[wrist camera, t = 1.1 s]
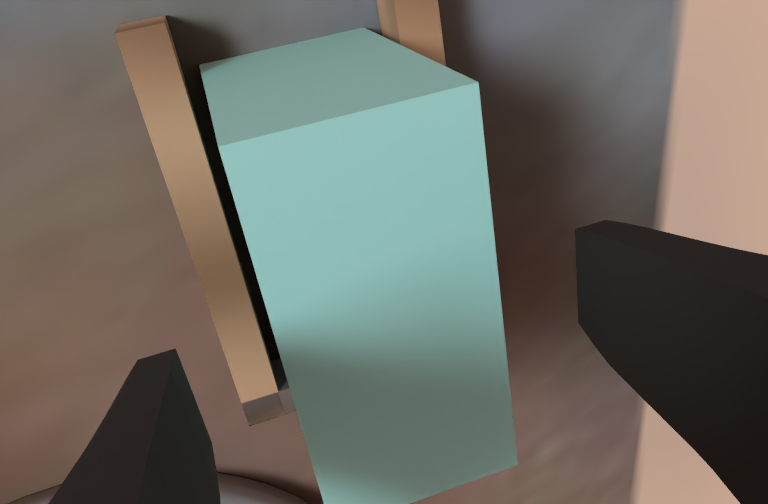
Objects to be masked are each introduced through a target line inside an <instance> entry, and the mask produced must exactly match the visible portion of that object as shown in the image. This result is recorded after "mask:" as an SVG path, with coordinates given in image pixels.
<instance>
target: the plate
mask: <svg viewBox="0 0 768 504" xmlns="http://www.w3.org/2000/svg"><path fill="white" fill-rule="evenodd" d="M217 478H218V485H219V491H220V503H221V504H309V503H307V502H305V501H304V500H302V499H301V498H299V497H297V496H295V495H293V494H290V493H288V492H286V491H283V490H281V489H279V488H276V487H274V486H272V485H268V484H265V483H261V482H258V481H254V480H251V479H247V478H244V477H239V476H233V475H227V474H221V473H217ZM60 486H61V485H59V486H56V487H53V488H50V489H47V490H44V491H41V492H38V493H35V494H32V495H29V496H26V497H23V498H21V499H18V500H16V501H14V502H12V503H9V504H48V503H49V502H50V500H51V499H52V498H53V496H54V495H55V493H56V492H57V491H58V489H59V488H60Z"/></svg>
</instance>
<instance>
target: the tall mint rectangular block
mask: <svg viewBox="0 0 768 504" xmlns="http://www.w3.org/2000/svg"><path fill="white" fill-rule="evenodd" d="M199 67H200V71H201V76H202V80H203V84H204V88H205V93H206V97H207V101H208V106H209V110H210V114H211V118H212V123H213V127H214V131H215V136H216V140H217V144H218V148H219V151H220V155H221V158H222V162H223V165H224V168H225V172H226V175H227V178H228V182H229V185H230V189H231V192H232V195H233V199H234V202H235V205H236V209H237V212H238V216H239V219H240V222H241V226H242V229H243V232H244V236H245V239H246V243H247V246H248V249H249V253H250V256H251V259H252V263H253V266H254V270H255V273H256V276H257V280H258V283H259V287H260V290H261V293H262V297H263V300H264V303H265V307H266V310H267V314H268V317H269V320H270V324H271V327H272V330H273V334H274V337H275V341H276V344H277V347H278V351H279V354H280V357H281V361H282V364H283V368H284V371H285V374H286V378H287V381H288V384H289V388H290V391H291V395H292V398H293V401H294V405H295V408H296V411H297V415H298V418H299V422H300V425H301V428H302V432H303V435H304V438H305V442H306V445H307V449H308V452H309V455H310V459H311V462H312V465H313V469H314V472H315V476H316V479H317V482H318V486H319V489H320V492H321V496H322V499H323V503H324V504H409V503H412V502H415V501H418V500H421V499H423V498H426V497H429V496H432V495H435V494H437V493H440V492H443V491H446V490H449V489H451V488H454V487H457V486H460V485H463V484H465V483H468V482H471V481H474V480H476V479H479V478H482V477H485V476H488V475H490V474H493V473H496V472H499V471H502V470H504V469H507V468H510V467H513V466H516V465H518V460H517V451H516V441H515V431H514V422H513V412H512V402H511V392H510V383H509V373H508V363H507V354H506V344H505V334H504V325H503V315H502V305H501V295H500V286H499V276H498V266H497V257H496V247H495V237H494V228H493V218H492V208H491V199H490V189H489V179H488V169H487V160H486V150H485V140H484V131H483V121H482V111H481V102H480V92H479V82H477V81H475V80H473V79H471V78H469V77H467V76H465V75H462V74H460V73H458V72H456V71H454V70H452V69H450V68H448V67H446V66H444V65H442V64H439V63H437V62H435V61H433V60H431V59H429V58H427V57H425V56H423V55H421V54H419V53H416V52H414V51H412V50H410V49H408V48H406V47H404V46H402V45H400V44H398V43H395V42H393V41H391V40H389V39H387V38H385V37H383V36H381V35H379V34H377V33H375V32H372V31H370V30H368V29H366V28H364V27H363V28H359V29H355V30H350V31H346V32H341V33H337V34H333V35H328V36H324V37H319V38H315V39H310V40H306V41H302V42H297V43H293V44H288V45H284V46H279V47H275V48H271V49H266V50H262V51H257V52H253V53H248V54H244V55H240V56H235V57H231V58H226V59H222V60H218V61H213V62H209V63H204V64H200V65H199Z"/></svg>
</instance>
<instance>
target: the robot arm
mask: <svg viewBox="0 0 768 504" xmlns="http://www.w3.org/2000/svg"><path fill="white" fill-rule="evenodd" d="M575 242H576V269H577V296H578V323H579V324H580V326H581V327H582V329H583V330H584V331H585V333H586V334H587V336H588V337H589V338H590V340H591V341H592V343H593V344H594V345H595V347H596V348H597V349H598V351H599V352H600V353H601V354H602V356H603V357H604V358H605V360H606V361H607V362H608V363H609V365H610V366H611V367H612V368H613V369H614V370H615V371H616V372H617V373H618V374H619V375H620V376H621V377H622V378H623V379H624V380H625V381H626V382H627V383H628V384H629V385H630V386H631V387H632V388H633V389H634V390H635V391H636V392H637V393H638V394H639V395H640V396H641V397H642V398H643V399H644V400H645V401H646V402H647V403H648V404H649V405H650V406H651V407H652V408H653V409H654V410H655V411H656V412H657V413H658V414H659V415H660V416H661V417H662V418H663V419H664V420H665V421H666V422H667V423H668V424H669V425H670V426H671V427H672V428H673V429H674V430H675V431H676V432H677V433H678V434H679V435H680V436H681V437H682V438H683V439H684V440H685V441H686V442H687V443H688V444H689V445H690V446H691V447H692V448H693V449H694V450H695V451H696V452H697V453H698V454H699V455H700V456H701V457H702V458H703V460H704V461H706V463H707V464H708V465H709V466H710V467H711V468H712V469H713V470H714V472H715V473H716V474H717V475H718V477H719V478H720V479H721V480H722V481H723V482H724V484H725V485H726V486H727V488H728V489H729V490H730V491H731V493H732V494H733V495H734V496H735V497H736V499H737V500H738V501H739V502H740V504H768V255H763V254H758V253H753V252H748V251H743V250H738V249H733V248H729V247H725V246H721V245H716V244H712V243H708V242H703V241H699V240H695V239H691V238H687V237H683V236H679V235H675V234H670V233H666V232H662V231H658V230H654V229H650V228H645V227H641V226H636V225H632V224H627V223H621V222H615V221H607V220H605V221H601V222H598V223H594V224H591V225H588V226H584V227H581V228H578V229H575ZM48 504H221V503H220V491H219V485H218V478H217V472H216V466H215V460H214V454H213V448H212V442H211V440H210V437H209V434H208V432H207V429H206V427H205V424H204V421H203V419H202V416H201V414H200V411H199V408H198V406H197V403H196V401H195V398H194V395H193V393H192V390H191V387H190V385H189V382H188V380H187V377H186V374H185V372H184V369H183V367H182V364H181V361H180V359H179V356H178V354H177V351H176V349H173V350H169V351H166V352H163V353H159V354H156V355H153V356H149V357H146V358H143V359H139V360H137V362H136V364H135V365H134V367H133V369H132V370H131V372H130V374H129V375H128V377H127V379H126V380H125V382H124V384H123V386H122V388H121V389H120V391H119V393H118V395H117V396H116V398H115V400H114V402H113V404H112V405H111V407H110V409H109V411H108V412H107V414H106V416H105V418H104V419H103V421H102V422H101V424H100V426H99V427H98V429H97V431H96V432H95V434H94V436H93V437H92V439H91V441H90V442H89V444H88V446H87V447H86V449H85V451H84V452H83V454H82V455H81V457H80V458H79V460H78V461H77V463H76V464H75V466H74V467H73V468H72V470H71V471H70V473H69V474H68V476H67V477H66V479H65V480H64V482H63V483H62V485H61V486H60V488H59V489H58V491H57V492H56V493H55V495H54V496H53V498H52V499H51V500H50V502H49V503H48Z"/></svg>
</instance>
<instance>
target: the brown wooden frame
mask: <svg viewBox="0 0 768 504" xmlns="http://www.w3.org/2000/svg"><path fill="white" fill-rule="evenodd" d="M376 2H377V8H378V14H379V20H380V26H381V32H382V36H383V37H385V38H387V39H389V40H391V41H393V42H395V43H398V44H400V45H402V46H404V47H406V48H408V49H410V50H412V51H414V52H416V53H419V54H421V55H423V56H425V57H427V58H429V59H431V60H433V61H435V62H437V63H439V64H442V65H444V66H446V62H445V54H444V46H443V38H442V30H441V22H440V14H439V6H438V0H376ZM115 36H116V39H117V42H118V45H119V48H120V51H121V53H122V56H123V59H124V62H125V65H126V68H127V71H128V74H129V77H130V80H131V83H132V86H133V88H134V91H135V94H136V97H137V100H138V103H139V106H140V109H141V112H142V115H143V118H144V121H145V123H146V126H147V129H148V132H149V135H150V138H151V141H152V144H153V147H154V150H155V153H156V155H157V158H158V161H159V164H160V167H161V170H162V173H163V176H164V179H165V182H166V185H167V188H168V190H169V193H170V196H171V199H172V202H173V205H174V208H175V211H176V214H177V217H178V220H179V223H180V225H181V228H182V231H183V234H184V237H185V240H186V243H187V246H188V249H189V252H190V255H191V258H192V260H193V263H194V266H195V269H196V272H197V275H198V278H199V281H200V284H201V287H202V290H203V292H204V295H205V298H206V301H207V304H208V307H209V310H210V313H211V316H212V319H213V322H214V325H215V327H216V330H217V333H218V336H219V339H220V342H221V345H222V348H223V351H224V354H225V357H226V360H227V362H228V365H229V368H230V371H231V374H232V377H233V380H234V383H235V386H236V389H237V392H238V395H239V397H240V400H241V403H242V406H243V409H244V412H245V415H246V418H247V421H248V424H249V426H251V425H254V424H258V423H261V422H264V421H267V420H270V419H273V418H276V417H279V416H282V415H285V414H288V413H291V412H295V411H296V408H295V405H294V401H293V398H292V395H291V391H290V388H289V384H288V381H287V378H286V374H285V371H284V368H283V364H282V361H281V358H279V359H276V360H272V361H271V360H270V356H269V353H268V350H267V347H266V343H265V340H264V337H263V334H262V330H261V327H260V324H259V320H258V317H257V314H256V311H255V307H254V304H253V301H252V298H251V294H250V291H249V288H248V284H247V281H246V278H245V275H244V271H243V268H242V265H241V262H240V258H239V255H238V252H237V248H236V245H235V242H234V239H233V235H232V232H231V229H230V226H229V222H228V219H227V216H226V212H225V209H224V206H223V203H222V199H221V196H220V193H219V189H218V186H217V183H216V180H215V176H214V173H213V170H212V167H211V163H210V160H209V157H208V153H207V150H206V147H205V144H204V140H203V137H202V134H201V131H200V127H199V124H198V121H197V117H196V114H195V111H194V108H193V104H192V101H191V98H190V95H189V91H188V88H187V85H186V81H185V78H184V75H183V72H182V68H181V65H180V62H179V58H178V55H177V52H176V49H175V45H174V42H173V39H172V36H171V32H170V29H169V26H168V22H167V19H166V16H165V15H162V16H158V17H153V18H148V19H143V20H139V21H134V22H129V23H124V24H120V25H119V26H118V28H117V30H116V32H115Z"/></svg>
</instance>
